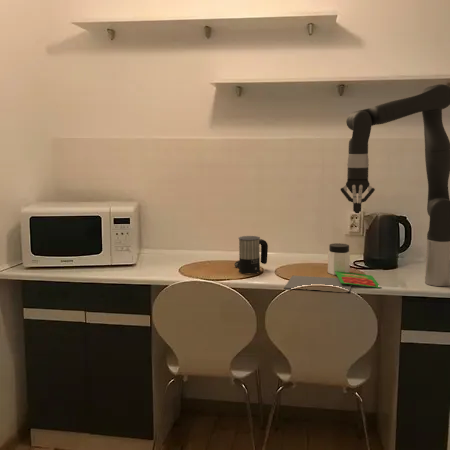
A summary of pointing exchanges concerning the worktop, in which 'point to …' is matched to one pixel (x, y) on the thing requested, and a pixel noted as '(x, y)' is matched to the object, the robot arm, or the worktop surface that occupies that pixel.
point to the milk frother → (251, 254)
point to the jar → (338, 258)
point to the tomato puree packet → (357, 279)
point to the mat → (314, 282)
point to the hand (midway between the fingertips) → (357, 213)
